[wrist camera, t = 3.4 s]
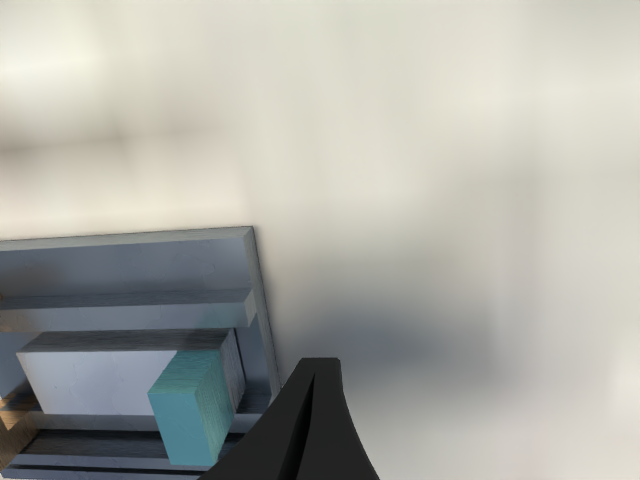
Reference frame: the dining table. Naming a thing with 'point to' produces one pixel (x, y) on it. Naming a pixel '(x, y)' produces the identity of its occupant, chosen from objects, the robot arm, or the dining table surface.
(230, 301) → the base
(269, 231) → the dining table surface
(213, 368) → the white and teal block
